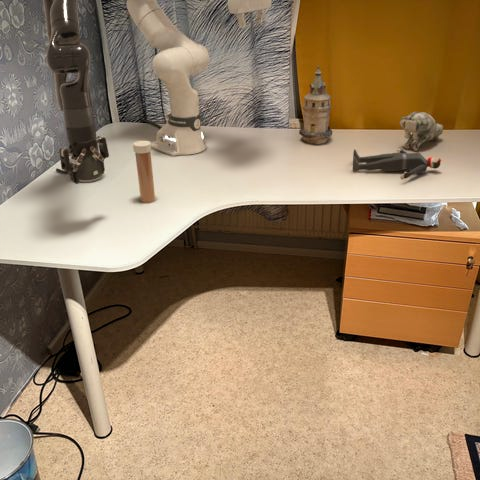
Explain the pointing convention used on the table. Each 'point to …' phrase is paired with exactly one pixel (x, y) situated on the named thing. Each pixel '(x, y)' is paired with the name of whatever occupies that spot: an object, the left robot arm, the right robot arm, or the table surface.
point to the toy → (396, 162)
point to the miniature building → (316, 112)
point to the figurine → (420, 129)
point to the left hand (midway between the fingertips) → (88, 178)
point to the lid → (142, 147)
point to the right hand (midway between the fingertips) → (250, 25)
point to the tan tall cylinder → (145, 177)
